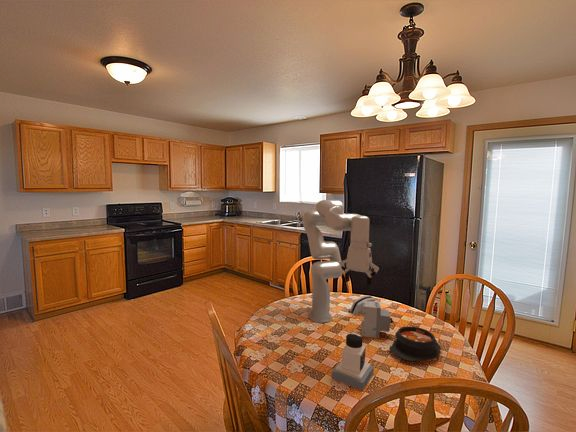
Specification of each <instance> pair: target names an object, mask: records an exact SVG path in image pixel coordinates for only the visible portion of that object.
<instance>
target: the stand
mask: <svg viewBox="0 0 576 432" xmlns="http://www.w3.org/2000/svg"><path fill="white" fill-rule="evenodd" d="M374 371H375V366H374V365H371V363H368V362H365V364H364V366H363V368H362V370H361V372H360V373H358V372H354V371H351V370H348V369H344V368H342V359H341V360H340V361H339V362H338V363H337V364H336V366H335V367H334V368H333V369H332V370H331V379H332V380H334V381H337V382H340V383H342V384H344V385H347V386H349V387H352V388H355V389H357V390H359V391H364V390H365V388H366V387H367V385H368V383H369V381H370V380H371V378H372V377H373V375H374V374H375V373H374Z"/></svg>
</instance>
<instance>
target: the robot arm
mask: <svg viewBox="0 0 576 432" xmlns="http://www.w3.org/2000/svg"><path fill="white" fill-rule="evenodd" d="M344 209H345V207H344V203H343V202H342V201H341V200H339V199H322V200H319V201H318V202H317V203H316V205H315V209H313V210H312V209H311V210H307V211H305V212H304V213H303V215H302V225H303V228H304V231H305V233H306V236H307V240H308V246H309V251H310V256H311V258H312V259H314V260H321V261H316V262H313V263H312V264H311V267H310V273H311V279H312V281H311V282H312V293H311V295H312V296H311V306H306V310H305V312H306V313H309V314H308V319H309V320H310V321H312V322H314V323H318V324H325V323H329V322H331V321H332V320H333V316H332V314H330V310H331V309H330V304H331V301H330V300H331V286H330V284H329V283H328V281H327V280H328V279H337V278H340V277H342V276H343V273H344V280H345V283H348V282H350V281H351V280H350V279H351V272H350V271H354V272H358V273H359V272H361V273H365V274H366V275H367V277H366V287H368V288H369V287H370V286H372V284H373V277H374V276H375V275H377V272H379V270H380V267H379V266H377V265H376V264H374V263H373V258H372V251H371V250H372V249H371V248H370V247H373V243H372V242H370V239H369V238H370V218H369V217H368V216H366V215H361V214H358V213H344ZM317 226H328V227H329V228H330V229H332V230H333V231H335V232H336V231H337V232H347V231H349V232H350V246H348V250H347V256H346V258H345V259H343V260H342V257H341V252H340V248H339V246H338V245H337V243H336V242H334V241H326V240H325V239H324V235H323V232H322V231H321V230H320V228H319V227H317ZM345 265H346V266H345ZM372 269H373V271H372Z"/></svg>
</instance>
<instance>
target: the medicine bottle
mask: <svg viewBox="0 0 576 432" xmlns="http://www.w3.org/2000/svg"><path fill="white" fill-rule="evenodd" d="M363 339H364V338H363V336H362V335H360V334H359V333H355V332H353V333H348V334H347V335H346V338H345V345H344V346H343V348H342V351H341V360H342V368H344V369H348V370H351V371H354V372H358V373H360V372H361V370H362V368H363V366H364V364H365V363H366V346H365V345H363Z"/></svg>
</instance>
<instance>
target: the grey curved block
mask: <svg viewBox="0 0 576 432" xmlns="http://www.w3.org/2000/svg"><path fill="white" fill-rule="evenodd" d="M363 301H372V302H376V299H375V298H374V297H373V296H371V295H363V296H360V297H358V298H356V299H355V300H354V301H353V302H352V305H351V306H350V308H348V311H347V312H348V313H349V312H350V313H351V312H352V314H353V315H357V314H360V313H362V304H363Z"/></svg>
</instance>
